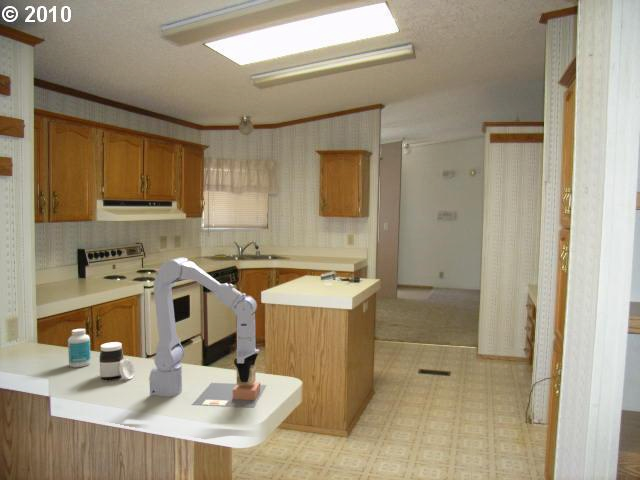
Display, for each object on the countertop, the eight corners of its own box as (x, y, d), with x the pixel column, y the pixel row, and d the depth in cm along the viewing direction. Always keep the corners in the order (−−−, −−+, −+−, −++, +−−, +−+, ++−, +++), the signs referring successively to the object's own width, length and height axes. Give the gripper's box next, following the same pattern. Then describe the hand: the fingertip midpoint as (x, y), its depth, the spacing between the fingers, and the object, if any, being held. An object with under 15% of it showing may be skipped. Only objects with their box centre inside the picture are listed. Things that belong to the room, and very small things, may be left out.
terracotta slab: (232, 399, 149) (232, 389, 149) (238, 390, 156) (238, 381, 156) (254, 400, 148) (254, 390, 148) (260, 391, 155) (260, 382, 155)
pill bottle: (94, 364, 185) (93, 329, 184) (76, 369, 178) (74, 333, 177) (83, 360, 189) (82, 326, 188) (64, 365, 182) (63, 330, 181)
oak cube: (236, 385, 150) (236, 369, 150) (240, 379, 155) (240, 364, 154) (251, 385, 149) (251, 370, 149) (255, 380, 154) (255, 364, 154)
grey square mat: (191, 407, 145) (191, 404, 145) (211, 385, 163) (211, 382, 163) (253, 410, 143) (253, 407, 143) (266, 388, 161) (266, 384, 161)
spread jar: (102, 373, 174) (101, 341, 174) (135, 370, 178) (134, 339, 177) (97, 385, 163) (96, 351, 162) (133, 381, 166) (132, 348, 166)
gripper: (253, 343, 143) (253, 387, 144) (263, 330, 158) (264, 371, 159) (229, 342, 144) (230, 386, 145) (242, 329, 158) (243, 370, 159)
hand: (246, 378), depth 152 cm, fingers closed on oak cube, 5 cm apart
